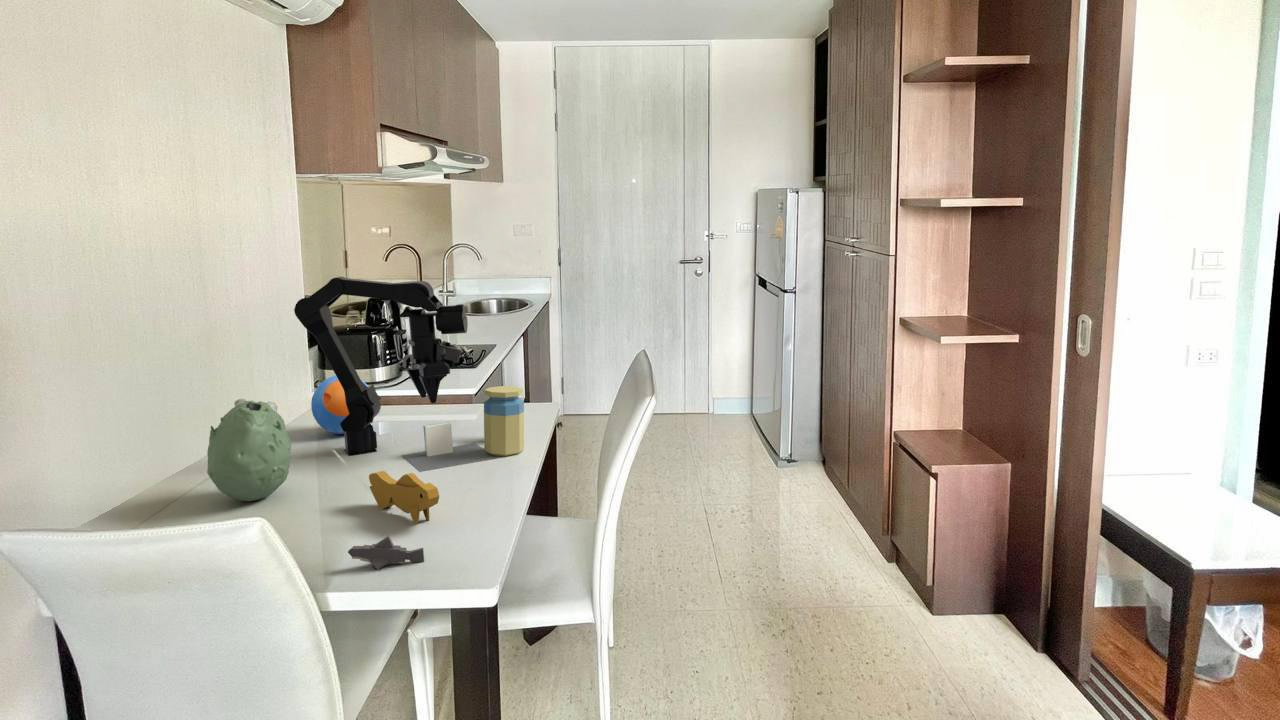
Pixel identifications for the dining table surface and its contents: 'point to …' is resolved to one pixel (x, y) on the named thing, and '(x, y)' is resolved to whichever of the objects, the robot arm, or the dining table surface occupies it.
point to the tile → (438, 439)
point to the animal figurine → (385, 553)
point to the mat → (448, 457)
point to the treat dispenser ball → (330, 405)
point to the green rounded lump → (249, 451)
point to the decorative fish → (404, 493)
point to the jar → (503, 421)
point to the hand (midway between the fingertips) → (428, 400)
